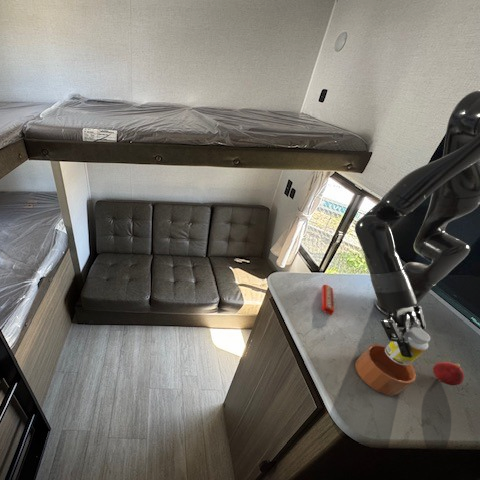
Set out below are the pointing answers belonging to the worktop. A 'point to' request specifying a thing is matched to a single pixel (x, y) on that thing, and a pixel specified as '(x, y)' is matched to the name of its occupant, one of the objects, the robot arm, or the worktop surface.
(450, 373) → the red oval piece
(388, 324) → the robot arm
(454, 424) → the worktop surface
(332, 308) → the candy bar
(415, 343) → the supplement bottle
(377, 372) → the orange-brown round open container
